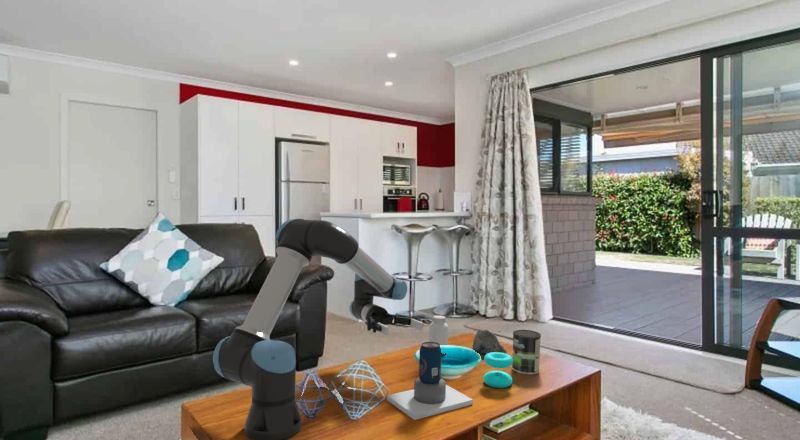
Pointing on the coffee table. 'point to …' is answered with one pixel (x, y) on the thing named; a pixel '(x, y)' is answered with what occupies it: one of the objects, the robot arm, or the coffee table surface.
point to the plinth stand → (428, 399)
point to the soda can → (430, 363)
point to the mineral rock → (487, 343)
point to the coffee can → (526, 351)
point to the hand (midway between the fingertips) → (405, 328)
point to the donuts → (498, 377)
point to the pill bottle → (438, 330)
